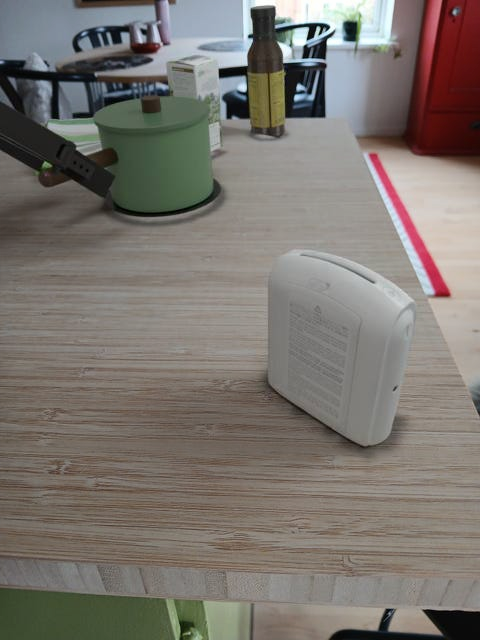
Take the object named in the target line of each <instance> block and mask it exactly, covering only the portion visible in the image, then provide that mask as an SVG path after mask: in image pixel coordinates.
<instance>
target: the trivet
mask: <svg viewBox="0 0 480 640" xmlns="http://www.w3.org/2000/svg"><path fill="white" fill-rule="evenodd" d="M218 181H219V180H217V179H215V178H214V177H213V186H214V188H213V191H212V193H211V195H210V196H209V197H207V198H206V199H205V200H203V201H201V202H200V203H197V204H195V205H193V206H190V207H187V208H183V209H179V210H174V211H167V212H137V211H132V210H127V209H124V208H122V207H120V206H118V205H117V204H116V203H115V202H114V201H113V199H112V195H111V190H110V189H109V191H108V193H107V195H106V197H105V198H104V203H105V204H106V206H107V207H108V208H109V209H111V210H112V211H115V212H116V213H120V214H122V215H125V216H130V217H131V216H132V217H137V218H161V217H163V218H164V217H172V216H177V215H183V214H186V213H190V212H193V211H197V210H199V209H201V208H203V207H206V206H207V205H209V204H211V203H212V202H214V201H215V200H216V199H217V198H218V197H219V195H220V194H221V191H222V188H221V187H222V186H221V185H220V183H219V182H218Z"/></svg>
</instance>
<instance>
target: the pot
mask: <svg viewBox="0 0 480 640" xmlns="http://www.w3.org/2000/svg"><path fill="white" fill-rule="evenodd" d="M209 114H210V107H209V105H208V104H207V103H206V102H203V101H201V100H198V99H193V98H187V97H171V96H169V95H168V96H159V95H157V94H153V95H152V94H151V95H150V94H149V95H144V96H141V97H140V98H134V99H133V98H132V99H129V100H124V101H120V102H115V103H113V104H110V105H106V106H105V107H102V108H101V109H99V110H97V111H96V112H94V114H93V116H92V118H93V120H94V123H95V125H96V126H97V127H98V132H99V137H100V141H101V146H102V150H101V151H98V152H95V153H92V154H89V155H86V157H88V158H89V159H91V160H92V161H94V162H95V163H97V164H98V165H100V166H101V167H103V168H104V169H106V170H107V171H109V172H110V173H112V174H113V175H115V179H114V181H113V183H112V185H111V187H110V189H109V190H111V195H112V199H113V201H114V202H115V203H116V204H117V205H118V206H120V207H122V208H124V209H127V210H132V211H137V212H167V211H174V210H179V209H183V208H187V207H190V206H193V205H195V204H197V203H200V202H201V201H203V200H205V199H206V198H207V197H209V196H210V195H211V193H212V191H213V188H214V186H213V178H214V176H213V162H212V152H211V148H210V135H209V122H208V116H209ZM52 168H53V167H50V168H47V169H44V170H42V171H41V172H40V173H39V175H38V176H37V181H38V182H39V184H40V185H41V186H42V187H44V188H53V187H55V186H59V185H62V184H63V183H66V182H69V181H73V180H72V179H70V178H68V177H67V176H65V175H63V174H62V173H60V172H59V174H58V176H55V175H53V174H52V173H51V170H52Z"/></svg>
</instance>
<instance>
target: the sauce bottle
mask: <svg viewBox="0 0 480 640" xmlns="http://www.w3.org/2000/svg"><path fill="white" fill-rule="evenodd" d="M276 8H277V7H276V6H275V5H273V4H272V5H270V4H266V5H256V6H252V7H250V9H249V10H250V11H249V12H250V19H251V26H252V29H251V30H252V42H251V44H250V47H249V48H248V51H247V54H246V63H247V71H246V72H247V90H248V106H249V107H248V109H249V123H250V125H251V126H250V127H251V133H255V134H258V135H263V136H267V137H273V138H279V137H281V136H282V135H284V133H285V131H286V130H285V123H286V102H285V101H286V100H285V99H286V98H285V96H286V95H285V68H284V52H283V50H282V47H281V46H280V43H279V42H278V40H277V33H276V16H277V9H276Z"/></svg>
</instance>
